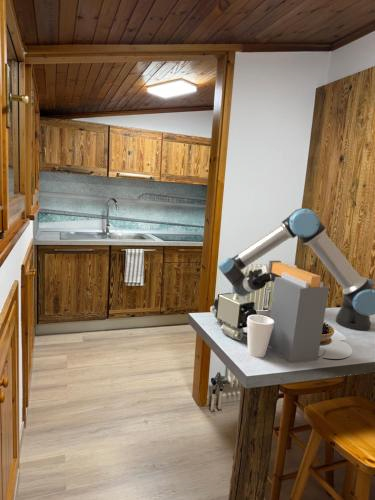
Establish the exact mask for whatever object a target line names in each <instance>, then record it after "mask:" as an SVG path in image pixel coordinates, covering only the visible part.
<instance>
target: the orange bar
mask: <svg viewBox="0 0 375 500" xmlns="http://www.w3.org/2000/svg"><path fill="white" fill-rule="evenodd" d="M293 266H294V265H293ZM293 266H292V265H289V264H287V263H284V262H282V261H281V260H269V262H268V271H269V272H268V273H274V274H277V275H279V276H281V275H282V273H287V274H289V275H291V276H294V277H296V278H299V279H301V280H304V281H306V282H308V283H309V288H318V287H319V285H320V282H321V278H322V276H321V275H318V274H316V273H312V272H310V271H306V270H304V269H301V268H298V267H297V268H295V267H293Z"/></svg>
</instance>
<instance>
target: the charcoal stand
mask: <svg viewBox="0 0 375 500" xmlns="http://www.w3.org/2000/svg"><path fill="white" fill-rule="evenodd" d="M273 283H274V284H273V290H272V297H271V298H272V299H271V306H270V313H269V314H270V315H269V318H271V319H273V320H274V327H273V329H272V332H271V336H270V340H269V343H268V347H269V348H271V350H273V351H275V352H276V353H277V354H278V355H280V356H281V357H282V358H283V359H284V360H286V361H287V362H288V363H289V364H292V363H300V362H309V361H317V360H318V359H319V354H320V352H319V351H320V347H321V340H322V333H323V329H324V328H323V327H324V322H325V315H326V309H327V304H328V303H327V302H328V298H329V297H328V296H329V291H330V289H329V288H330V287H328V286H325V285H324V282H323V281H320V285H319V287H318V288H309V283H308V282H306V281H304V280H301V279H299V278H296V277H294V276H291V275H289V274H287V273H282V275H281V277H275V282H273Z"/></svg>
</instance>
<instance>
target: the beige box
mask: <svg viewBox="0 0 375 500" xmlns="http://www.w3.org/2000/svg"><path fill="white" fill-rule="evenodd" d="M209 309H210V312H211V313H212V314H214V318H215V319H216V320H217V321H216V322H217V323H218V324H222V323H223V320H221V319H219V318H217V317H216V310H215V308H214V304H213V305H212V306H210V308H209Z"/></svg>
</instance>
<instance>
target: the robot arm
mask: <svg viewBox="0 0 375 500" xmlns="http://www.w3.org/2000/svg"><path fill="white" fill-rule="evenodd" d="M326 231H327V228H326V226H325V225H324V223H322V221H321V220H320V218H319V216H318V215H317V213H316V212H315V211H313V210H312V209H309V208H298V209H295V210H294V211H293V212H292V213H291V214H290V215H288V216H287V217H286V218H285V219H283V221H281V223H280V225H278V226H277V227H276V228H274V229H273V230H271V231H269V232H267V234H266V235H264V236H262V237H261V238H260V239H258V240H257V241H255V242H253V243H252V244H251V245H249V246H248V247H246V248H245V249H243V250H242V251H240V252H239V253H238V254H236V255H235V256H232V257H230V256H229V257H227V258H225V259H224V260H223V261H222V262H220V264H218V269H219V270H220V272H221V274H223V276H224V277H225V278H226V279H227V281H229V283H230V284H231V286H232V291H233V292H232V293H233V294H238V296H240V297H243V298H244V297H246V296H248V295H250V294H255V292H256V291H259V290H261V289H263V288H264V287H266V285H267V283H269V282H273V283H274V282H275V277H281V276H279V275H277V274H274V273H269V271H268V268H269V264H265V265H263V266H261V267H260V268H258V269H254V270H253V271H252V270H249V271H248V275H246V274H245V273H244V272H243V271H242V270H243V269H245V268H246V267H248V266H249V265H251V264H252V263H254V262H255V261H257V260H259V259H260V258H262V257H263V256H265V255H266V254H268V253H269V252H271V251H273V250H274V249H275V248H277V247H279V246H281V244H282V243H284V242H286V241H287V240H289V239H294V238H295V237H297V238H298V239H299V241H300V242H301V243H302V244H303V245H307V246H309V247H310V249H311V250H312V251H313V253H314V254H315V255H316V257H318V259H319V260H320V261H321V263H323V264H322V265H324V266H325V268H326V269H327V271H328V272H329V273H330V274H331V275H332V277H334V279H335V280H336V282H337V283H338V284H339V285H340V286H341V288H342V292H341V293H342V294H343V297H342V304H341V307H340V309H339V311H338V313H337V315H336V316H335V322H336V323H337V324H338V325H340V326H342V327H345V328H347V329H350V330H355V331H356V330H357V331H368V330H370V329H371V326H372V325H371V324H372V323H371V318H370V316H373V315H375V287H374V286H375V280H373V279H371V278H367V277H366V276H361V275H360V274H359V273H358V272H357V270H356V269H355V268H354V267H353V266H352V265H351V263H350V262H349V261H348V260H347V258H346V257H345V256H344V255H343V253H342V252H341V251H340V249H339V248H338V247H337V245H336V244H335V243H334V242H333V240H331V239H330V237H329V236H328V234H327V233H326ZM293 267H295V268H298V265H297V264H295V265H293Z"/></svg>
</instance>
